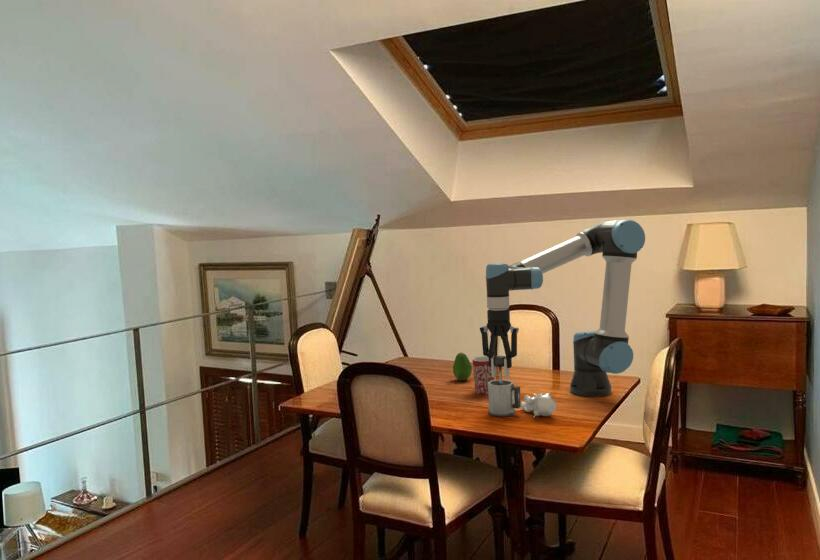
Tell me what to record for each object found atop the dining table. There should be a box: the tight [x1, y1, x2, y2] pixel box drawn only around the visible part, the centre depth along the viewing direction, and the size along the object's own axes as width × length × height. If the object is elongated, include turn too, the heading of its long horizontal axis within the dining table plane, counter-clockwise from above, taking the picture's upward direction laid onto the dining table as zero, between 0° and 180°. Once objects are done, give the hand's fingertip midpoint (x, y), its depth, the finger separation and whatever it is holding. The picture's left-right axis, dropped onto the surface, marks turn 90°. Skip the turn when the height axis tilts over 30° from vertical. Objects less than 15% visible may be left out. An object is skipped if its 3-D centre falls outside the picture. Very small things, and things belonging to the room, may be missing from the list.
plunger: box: [493, 355, 506, 385], centre depth 210 cm, size 6×6×17 cm
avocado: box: [452, 352, 473, 381], centre depth 260 cm, size 8×8×12 cm
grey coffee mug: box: [487, 379, 522, 418], centre depth 210 cm, size 11×9×10 cm
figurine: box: [520, 391, 557, 418], centre depth 208 cm, size 11×7×15 cm
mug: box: [471, 355, 495, 396], centre depth 240 cm, size 13×9×14 cm
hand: (500, 376), depth 210 cm, fingers closed on plunger, 4 cm apart
